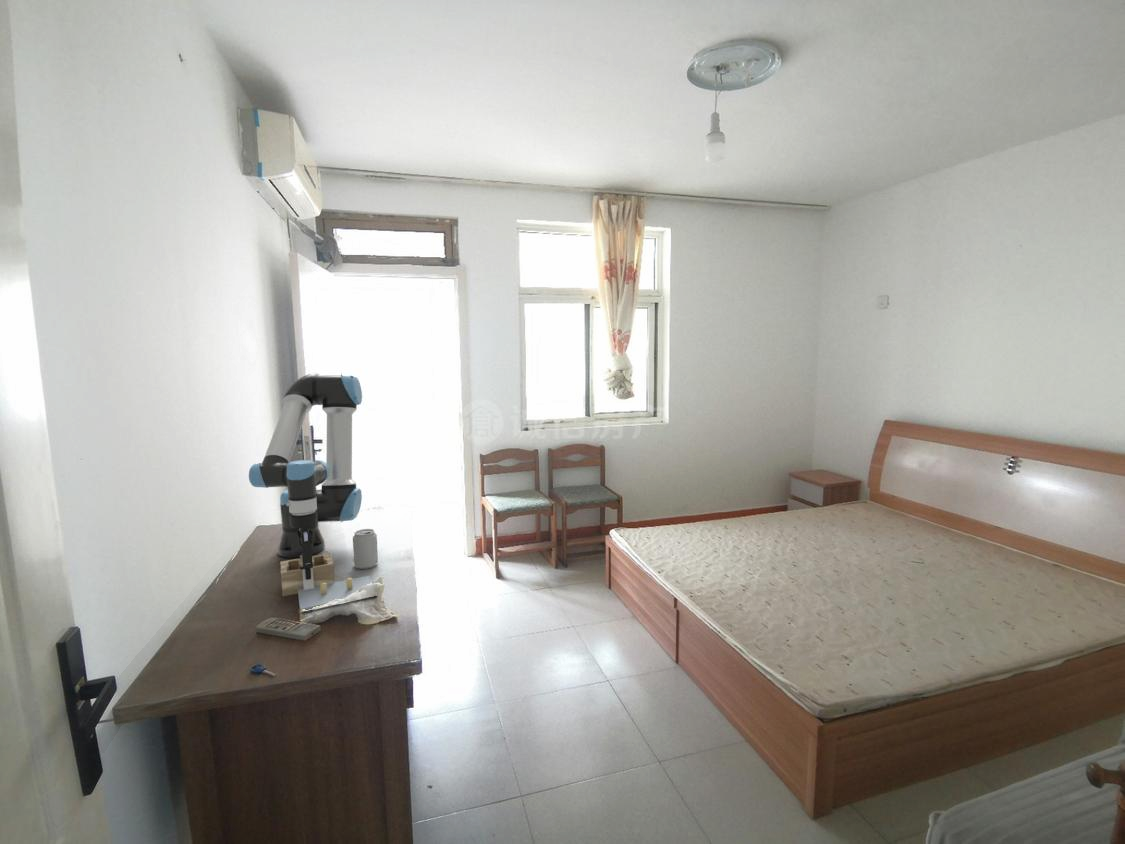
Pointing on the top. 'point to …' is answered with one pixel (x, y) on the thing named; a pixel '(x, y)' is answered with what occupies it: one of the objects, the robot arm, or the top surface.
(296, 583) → the wooden cubby shelf
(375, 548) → the can
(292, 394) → the robot arm
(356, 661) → the top surface
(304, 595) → the panel
